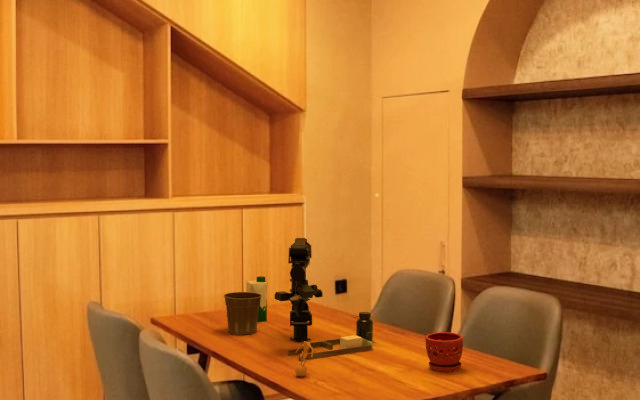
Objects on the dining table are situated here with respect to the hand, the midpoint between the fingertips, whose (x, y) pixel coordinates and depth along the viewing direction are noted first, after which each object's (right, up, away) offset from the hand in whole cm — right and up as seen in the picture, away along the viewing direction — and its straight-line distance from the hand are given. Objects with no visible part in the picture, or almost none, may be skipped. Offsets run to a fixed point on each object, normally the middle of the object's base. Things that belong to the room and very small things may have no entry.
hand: (298, 316), depth 303 cm
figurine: (+3, -15, -36) cm, 39 cm away
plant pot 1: (-25, -11, +29) cm, 40 cm away
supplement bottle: (+27, -13, +13) cm, 32 cm away
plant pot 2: (+53, -15, -26) cm, 61 cm away
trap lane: (+11, -13, -2) cm, 17 cm away
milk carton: (-21, -10, +52) cm, 57 cm away
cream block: (+21, -13, 0) cm, 24 cm away
